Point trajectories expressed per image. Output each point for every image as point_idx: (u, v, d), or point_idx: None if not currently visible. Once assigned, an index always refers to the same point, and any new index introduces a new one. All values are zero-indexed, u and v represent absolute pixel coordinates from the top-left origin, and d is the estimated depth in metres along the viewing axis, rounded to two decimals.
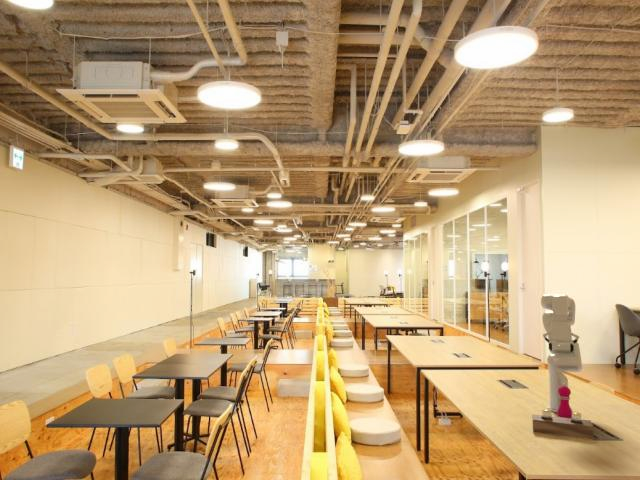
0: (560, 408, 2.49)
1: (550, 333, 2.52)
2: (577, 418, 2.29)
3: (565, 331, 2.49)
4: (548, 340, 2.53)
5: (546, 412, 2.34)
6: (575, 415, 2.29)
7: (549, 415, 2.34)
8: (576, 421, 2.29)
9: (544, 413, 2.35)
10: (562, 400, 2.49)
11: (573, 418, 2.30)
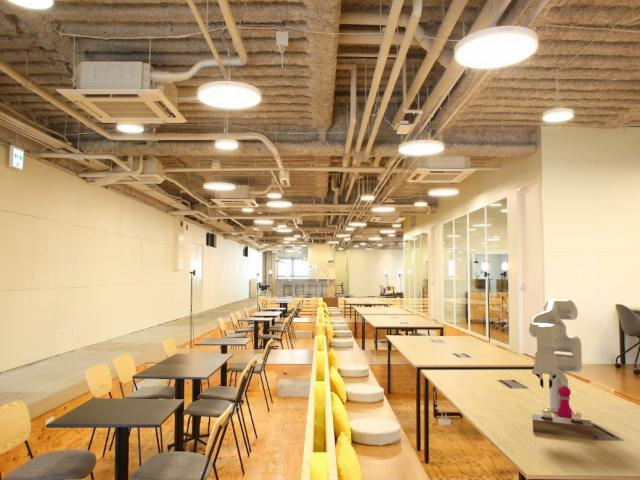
0: (560, 408, 2.49)
1: None
2: (577, 418, 2.29)
3: (550, 364, 2.34)
4: (538, 377, 2.37)
5: (546, 412, 2.34)
6: (575, 415, 2.29)
7: (549, 415, 2.34)
8: (576, 421, 2.29)
9: (544, 413, 2.35)
10: (562, 400, 2.49)
11: (573, 418, 2.30)
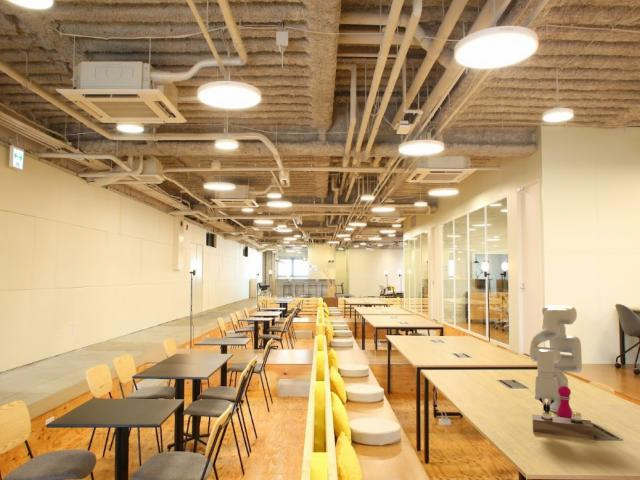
0: (560, 408, 2.49)
1: None
2: (577, 418, 2.29)
3: (551, 389, 2.33)
4: None
5: (546, 414, 2.34)
6: (575, 415, 2.29)
7: (549, 417, 2.34)
8: (576, 421, 2.29)
9: (544, 415, 2.35)
10: (562, 400, 2.49)
11: (573, 418, 2.30)
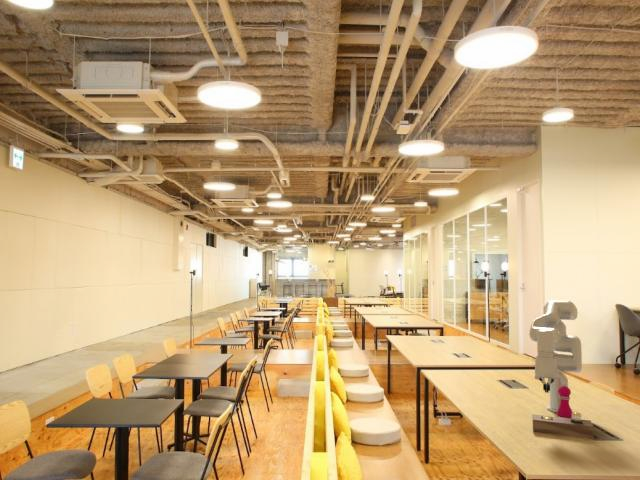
0: (560, 408, 2.49)
1: None
2: (577, 418, 2.29)
3: (551, 368, 2.34)
4: None
5: None
6: (575, 415, 2.29)
7: None
8: (576, 421, 2.29)
9: None
10: (562, 400, 2.49)
11: (573, 418, 2.30)
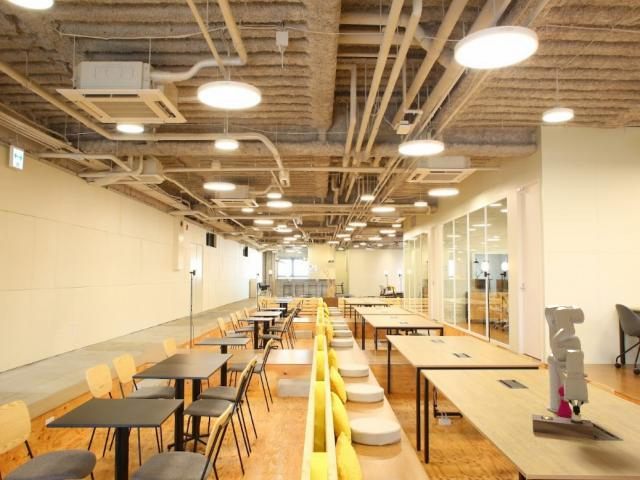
0: (560, 408, 2.49)
1: None
2: (577, 419, 2.29)
3: (581, 390, 2.28)
4: None
5: None
6: (575, 416, 2.29)
7: None
8: (576, 422, 2.29)
9: None
10: (562, 400, 2.49)
11: (573, 419, 2.30)
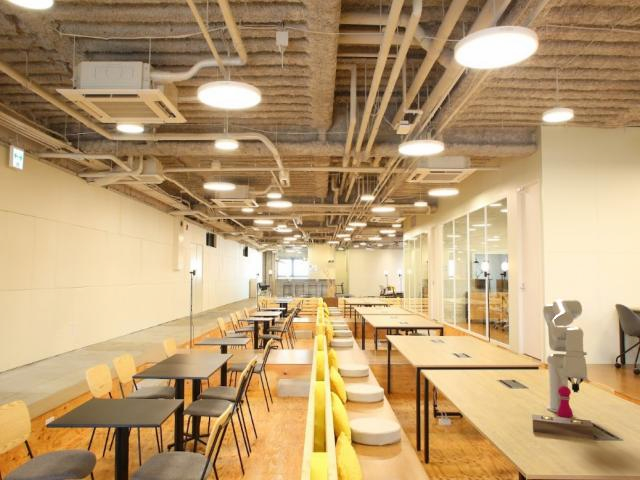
0: (560, 408, 2.49)
1: None
2: None
3: (580, 368, 2.29)
4: (570, 381, 2.32)
5: None
6: None
7: None
8: None
9: None
10: (562, 400, 2.49)
11: None
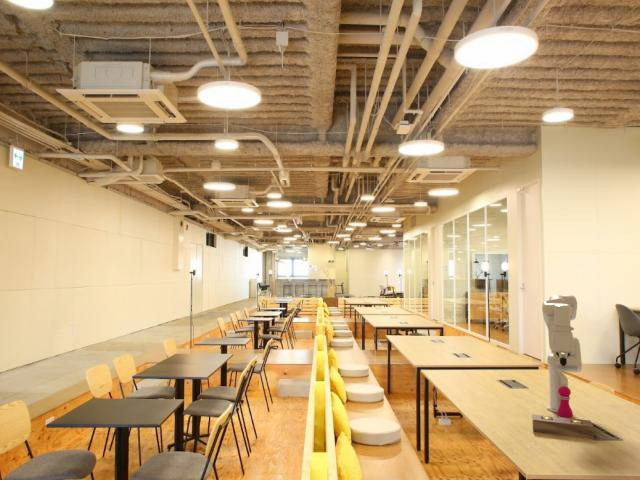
0: (560, 408, 2.49)
1: None
2: None
3: (567, 342, 2.39)
4: (558, 356, 2.42)
5: None
6: None
7: None
8: None
9: None
10: (562, 400, 2.49)
11: None
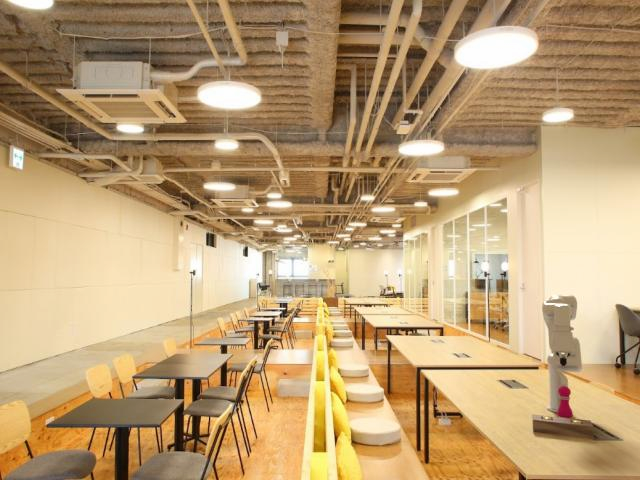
0: (560, 408, 2.49)
1: None
2: None
3: (567, 342, 2.39)
4: (558, 356, 2.42)
5: None
6: None
7: None
8: None
9: None
10: (562, 400, 2.49)
11: None
